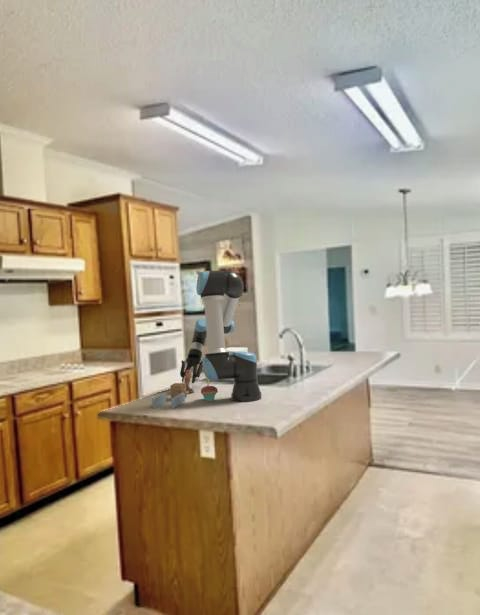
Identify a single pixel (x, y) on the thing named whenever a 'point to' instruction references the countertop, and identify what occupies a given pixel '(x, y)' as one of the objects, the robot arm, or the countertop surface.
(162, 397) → the lane
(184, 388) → the tethered block
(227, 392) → the countertop surface
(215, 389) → the cupcake
